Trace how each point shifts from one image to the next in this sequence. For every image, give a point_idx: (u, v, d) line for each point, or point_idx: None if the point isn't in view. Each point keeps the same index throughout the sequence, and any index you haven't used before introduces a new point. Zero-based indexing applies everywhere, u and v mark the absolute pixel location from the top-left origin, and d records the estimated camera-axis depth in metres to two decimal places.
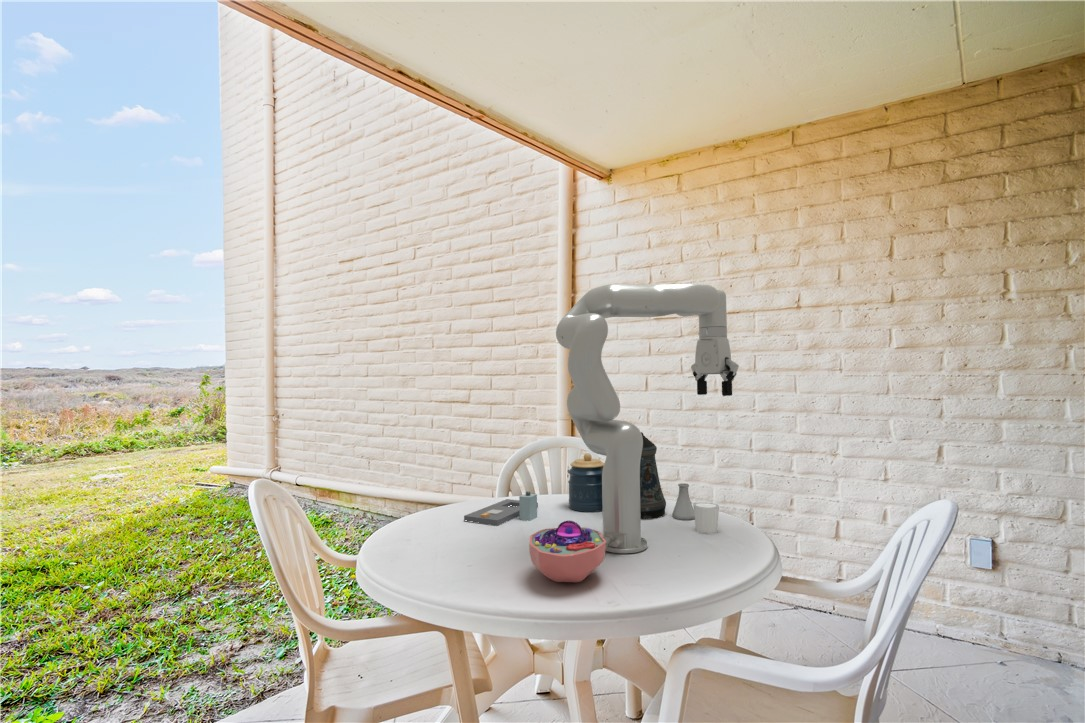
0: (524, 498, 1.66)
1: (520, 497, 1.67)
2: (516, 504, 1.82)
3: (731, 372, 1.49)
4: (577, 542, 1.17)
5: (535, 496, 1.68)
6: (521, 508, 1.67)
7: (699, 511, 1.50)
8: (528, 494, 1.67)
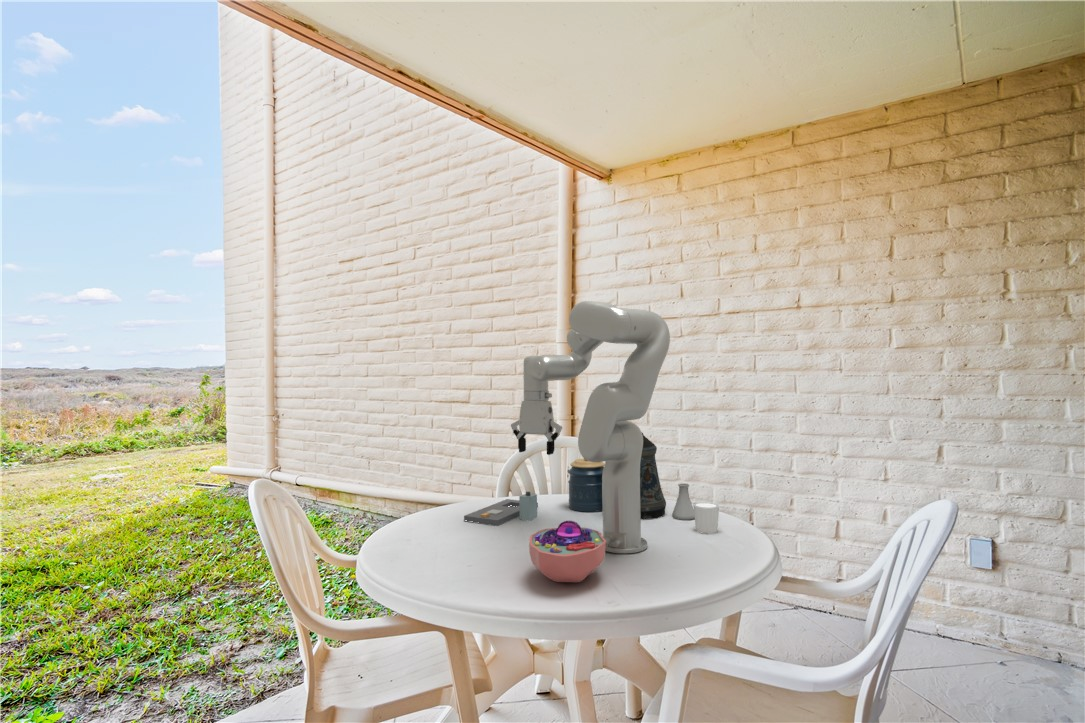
0: (524, 498, 1.66)
1: (520, 497, 1.67)
2: (516, 504, 1.82)
3: None
4: (577, 542, 1.17)
5: (535, 496, 1.68)
6: (521, 508, 1.67)
7: (699, 511, 1.50)
8: (528, 494, 1.67)
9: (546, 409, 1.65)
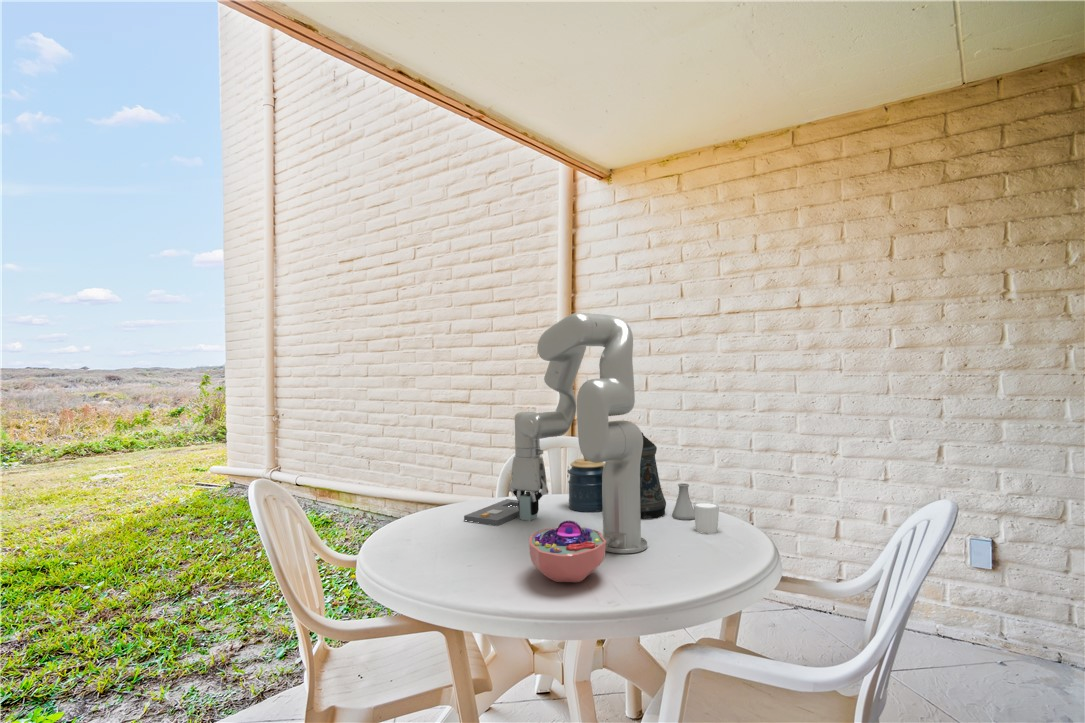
0: (524, 498, 1.66)
1: (520, 497, 1.67)
2: (516, 504, 1.82)
3: None
4: (577, 542, 1.17)
5: None
6: (521, 508, 1.67)
7: (699, 511, 1.50)
8: (528, 494, 1.67)
9: (537, 466, 1.65)
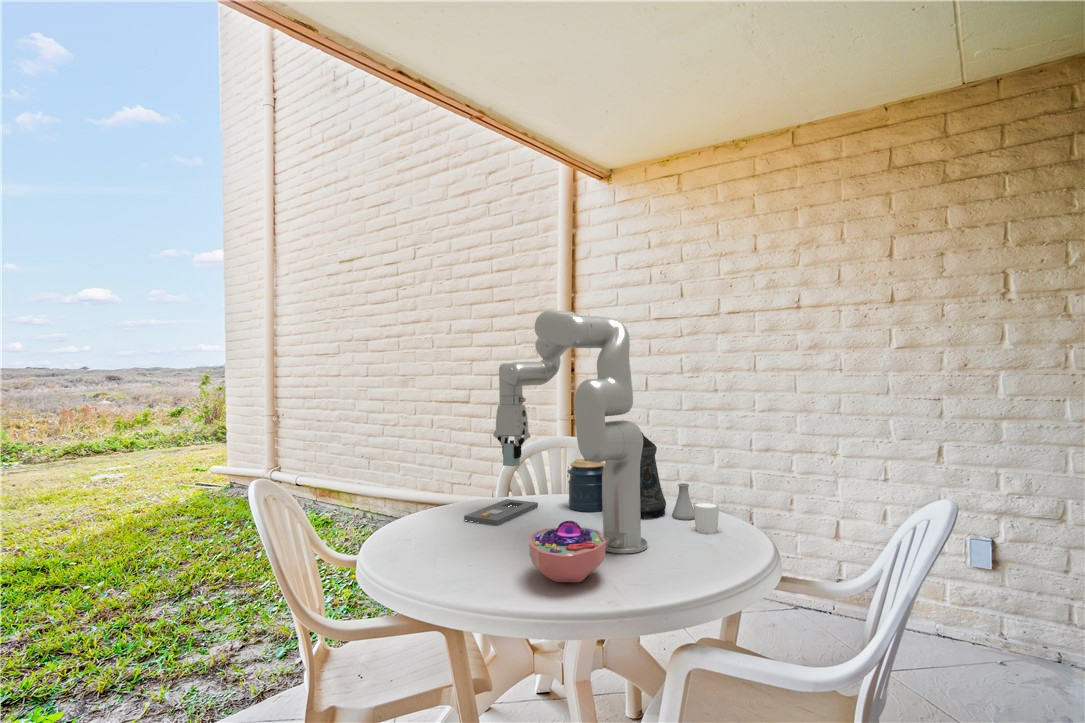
0: (508, 445, 1.77)
1: (504, 444, 1.78)
2: (516, 504, 1.82)
3: None
4: (577, 542, 1.17)
5: None
6: (505, 454, 1.78)
7: (699, 511, 1.50)
8: (512, 442, 1.79)
9: (520, 412, 1.76)
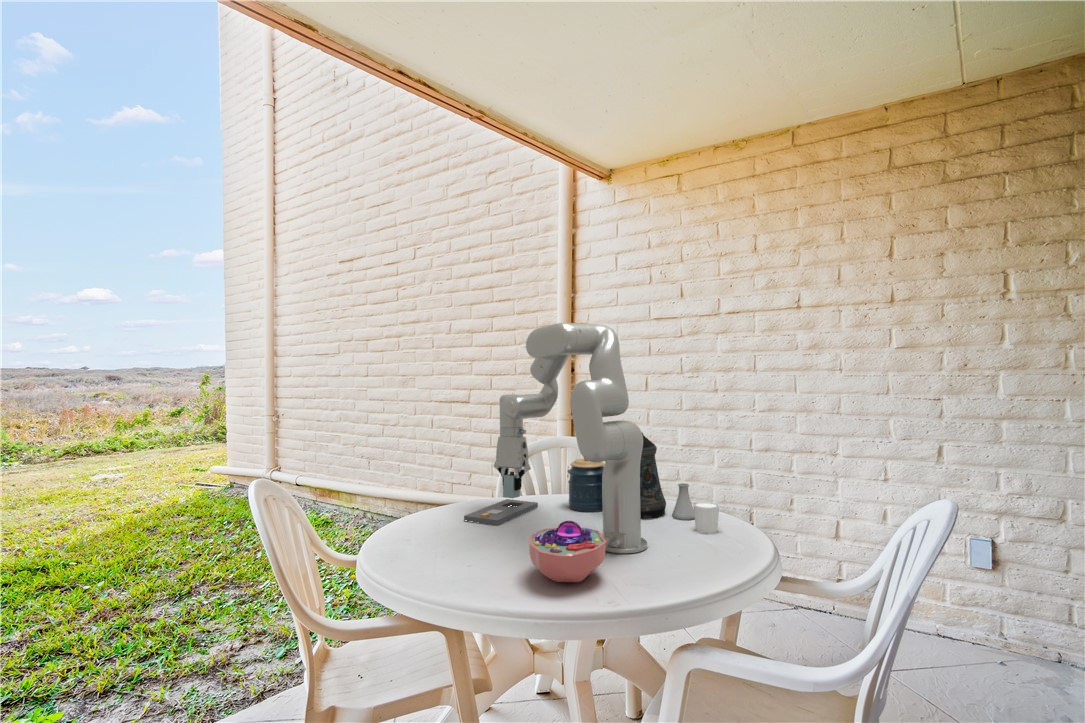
0: (508, 477, 1.77)
1: (504, 476, 1.78)
2: (516, 504, 1.82)
3: None
4: (577, 542, 1.17)
5: None
6: (505, 486, 1.78)
7: (699, 511, 1.50)
8: (512, 473, 1.79)
9: (520, 445, 1.76)
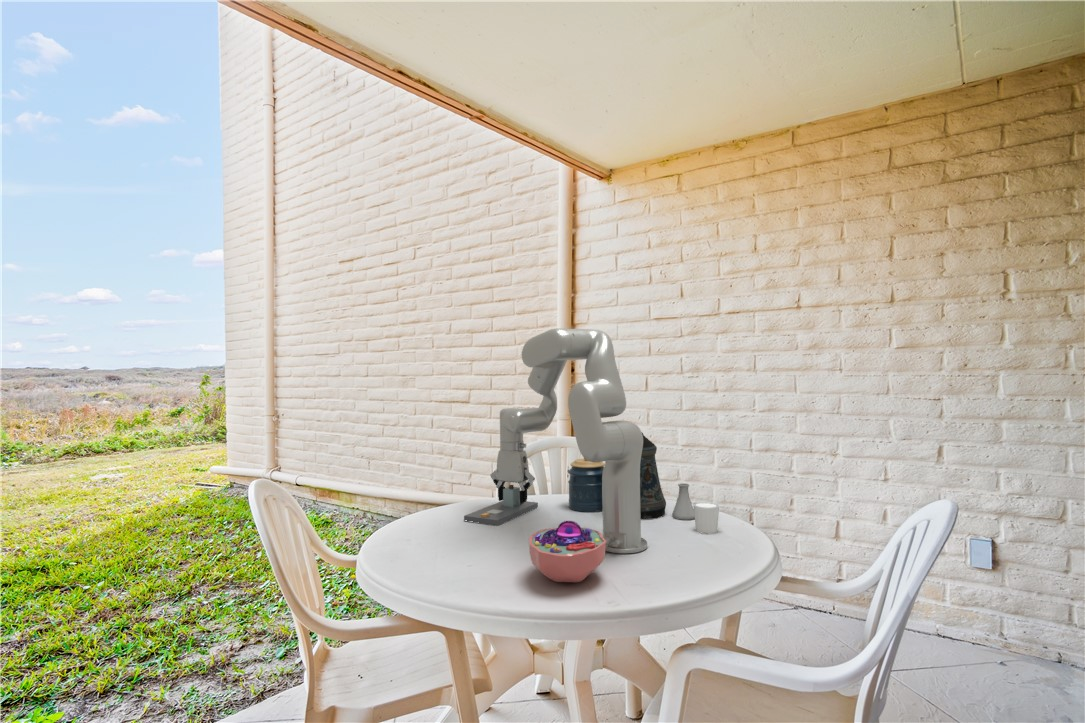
0: (507, 491, 1.77)
1: (504, 490, 1.78)
2: None
3: None
4: (577, 542, 1.17)
5: (518, 489, 1.79)
6: (505, 500, 1.77)
7: (699, 511, 1.50)
8: (511, 487, 1.78)
9: (521, 459, 1.76)
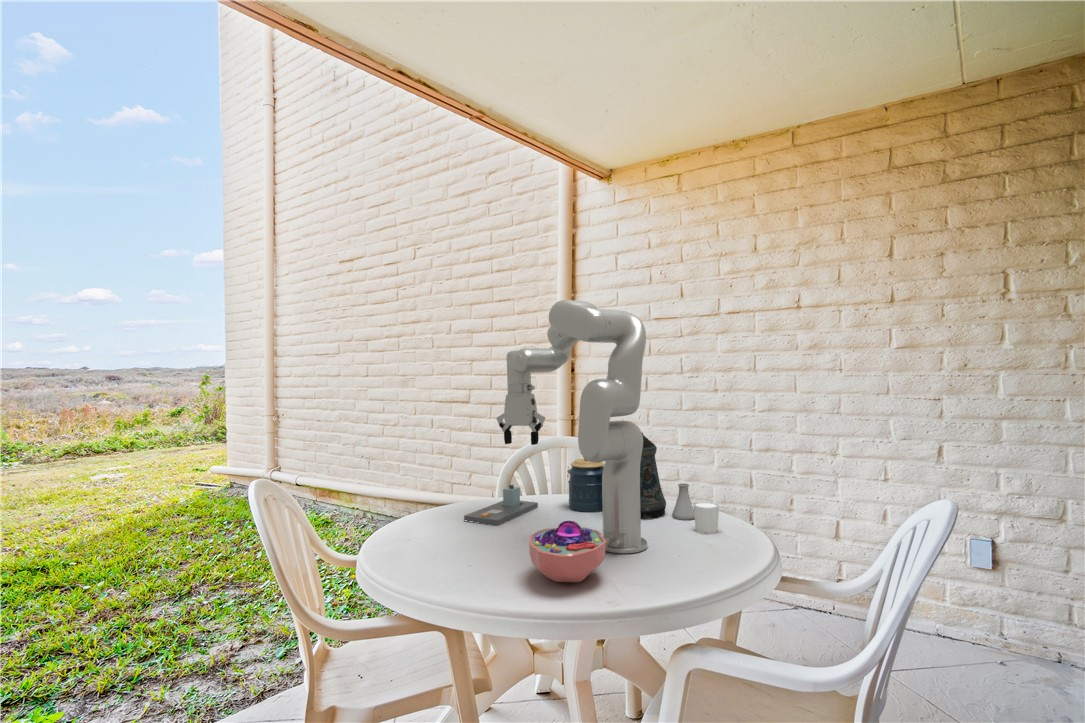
0: (507, 491, 1.77)
1: (504, 490, 1.78)
2: None
3: None
4: (577, 542, 1.17)
5: (518, 489, 1.79)
6: (505, 500, 1.77)
7: (699, 511, 1.50)
8: (511, 487, 1.78)
9: (529, 401, 1.71)
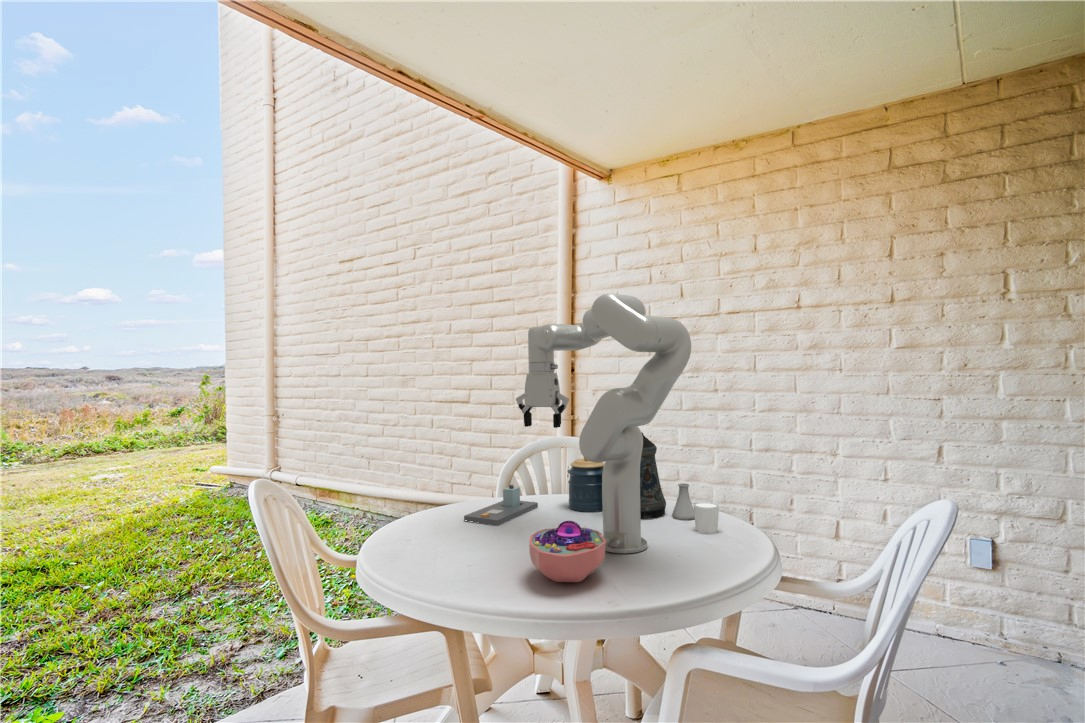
0: (507, 491, 1.77)
1: (504, 490, 1.78)
2: None
3: None
4: (577, 542, 1.17)
5: (518, 489, 1.79)
6: (505, 500, 1.77)
7: (699, 511, 1.50)
8: (511, 487, 1.78)
9: (552, 380, 1.59)
